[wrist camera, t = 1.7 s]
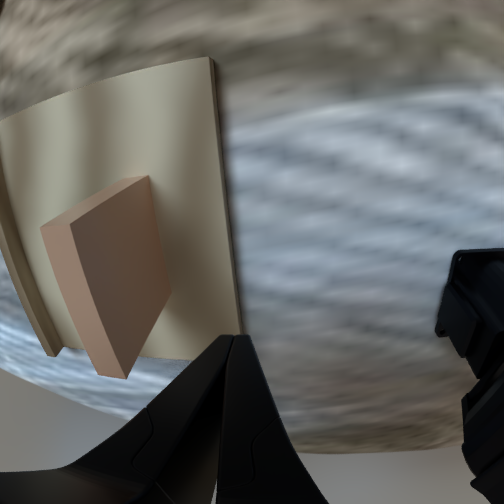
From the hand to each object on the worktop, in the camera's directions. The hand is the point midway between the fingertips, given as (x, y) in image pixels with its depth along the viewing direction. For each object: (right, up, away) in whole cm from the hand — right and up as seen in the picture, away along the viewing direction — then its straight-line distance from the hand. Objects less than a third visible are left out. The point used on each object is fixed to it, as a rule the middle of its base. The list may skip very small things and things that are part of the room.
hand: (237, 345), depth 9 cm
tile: (-5, +3, +8) cm, 10 cm away
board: (-8, +4, +9) cm, 13 cm away
